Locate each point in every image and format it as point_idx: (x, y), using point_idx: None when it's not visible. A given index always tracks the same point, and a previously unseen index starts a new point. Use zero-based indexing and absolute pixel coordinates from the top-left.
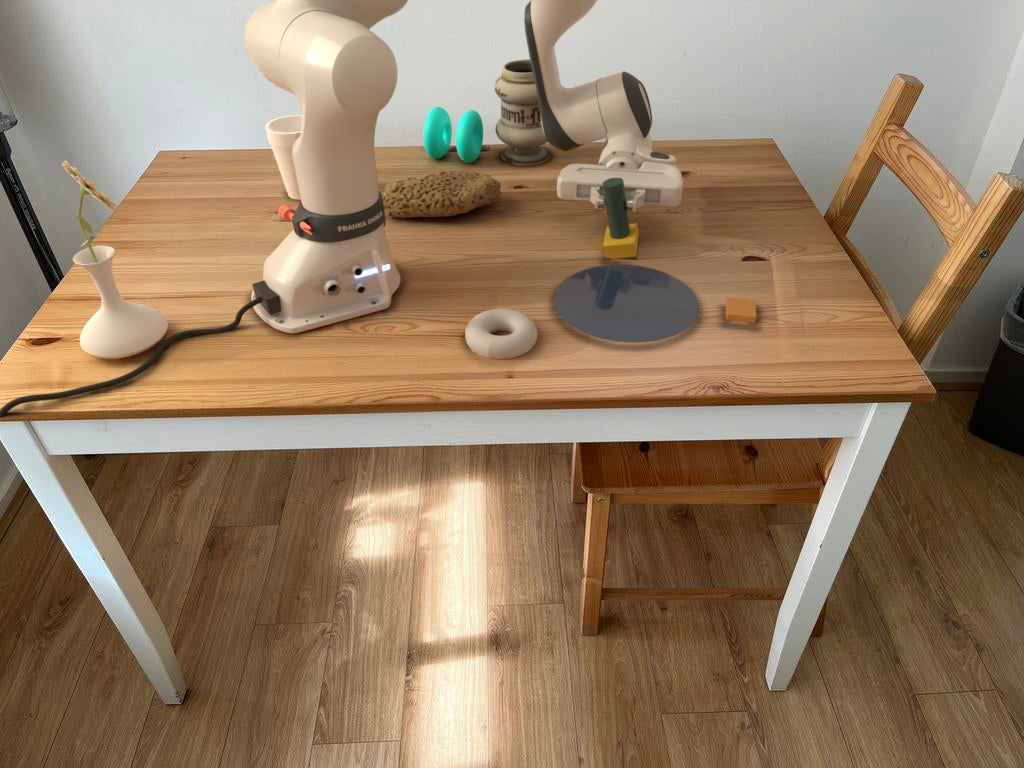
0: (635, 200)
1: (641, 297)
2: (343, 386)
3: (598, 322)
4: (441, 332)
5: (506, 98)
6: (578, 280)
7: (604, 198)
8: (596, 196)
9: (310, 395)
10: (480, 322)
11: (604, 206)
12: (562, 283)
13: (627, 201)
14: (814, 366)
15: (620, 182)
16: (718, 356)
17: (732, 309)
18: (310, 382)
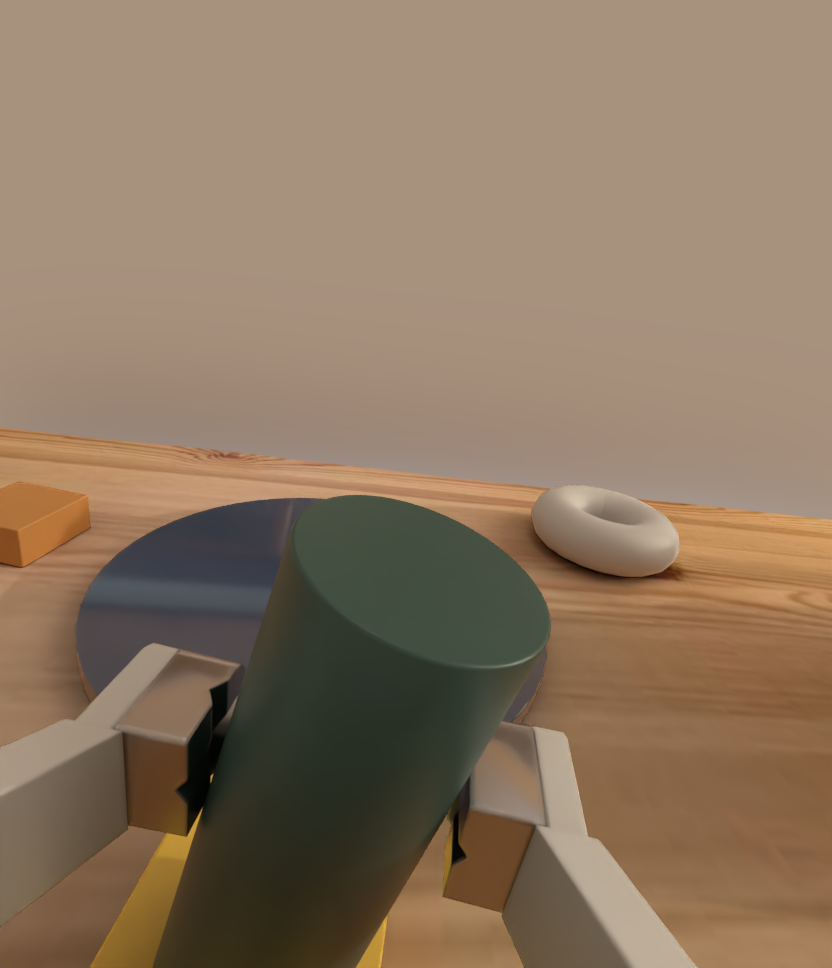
0: (142, 666)
1: None
2: (759, 522)
3: None
4: (729, 582)
5: None
6: None
7: None
8: (570, 784)
9: (781, 518)
10: (650, 513)
11: (445, 862)
12: (539, 669)
13: (235, 666)
14: (11, 452)
15: (340, 506)
16: (181, 484)
17: (57, 501)
18: (808, 531)
